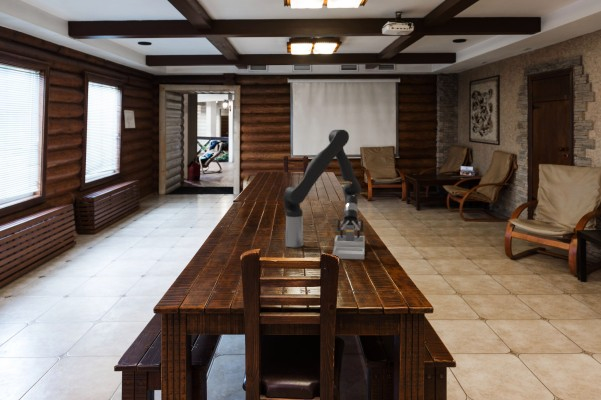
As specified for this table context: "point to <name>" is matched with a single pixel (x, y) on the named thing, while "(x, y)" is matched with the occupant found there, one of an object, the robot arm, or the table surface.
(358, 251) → the lid
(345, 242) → the case
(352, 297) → the table surface
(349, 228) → the module
